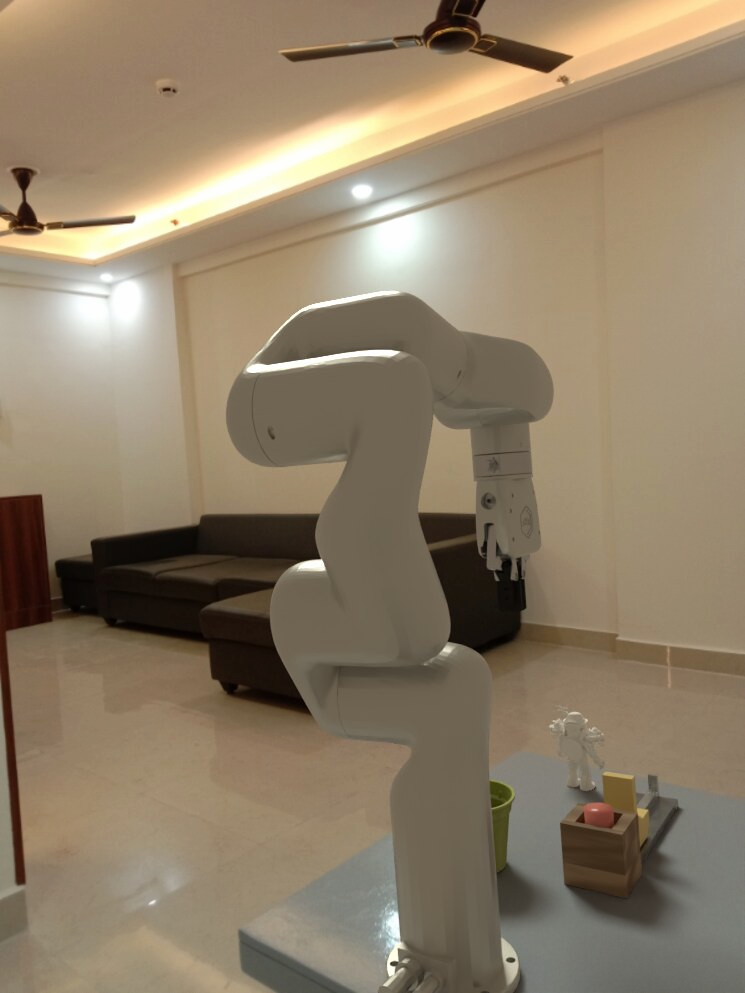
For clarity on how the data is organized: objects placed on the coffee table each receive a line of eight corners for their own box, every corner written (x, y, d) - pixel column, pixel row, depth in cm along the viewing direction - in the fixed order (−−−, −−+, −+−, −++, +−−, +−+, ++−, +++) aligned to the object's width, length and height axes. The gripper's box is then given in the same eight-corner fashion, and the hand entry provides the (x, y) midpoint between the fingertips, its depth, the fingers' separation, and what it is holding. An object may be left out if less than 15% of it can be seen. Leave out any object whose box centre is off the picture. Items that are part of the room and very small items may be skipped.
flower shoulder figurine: (548, 782, 118) (542, 703, 118) (564, 774, 121) (558, 697, 120) (599, 798, 111) (593, 714, 111) (615, 790, 114) (609, 707, 113)
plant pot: (496, 892, 89) (491, 816, 89) (426, 872, 95) (421, 800, 94) (533, 857, 96) (528, 786, 96) (466, 840, 102) (461, 773, 102)
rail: (638, 870, 91) (636, 836, 91) (587, 859, 95) (585, 826, 94) (678, 806, 107) (676, 777, 107) (633, 799, 110) (631, 770, 110)
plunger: (611, 861, 88) (608, 816, 88) (582, 855, 89) (579, 811, 89) (619, 848, 90) (616, 805, 90) (592, 843, 92) (589, 800, 92)
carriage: (638, 851, 93) (634, 786, 93) (595, 843, 96) (590, 779, 96) (650, 834, 97) (645, 771, 97) (608, 826, 100) (603, 765, 100)
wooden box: (626, 898, 86) (622, 834, 85) (564, 883, 89) (559, 822, 89) (641, 873, 90) (637, 812, 90) (582, 860, 94) (578, 802, 94)
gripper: (504, 468, 93) (516, 623, 94) (551, 464, 105) (561, 601, 106) (448, 472, 97) (459, 620, 98) (500, 468, 110) (509, 599, 110)
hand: (512, 610), depth 102 cm, fingers closed
